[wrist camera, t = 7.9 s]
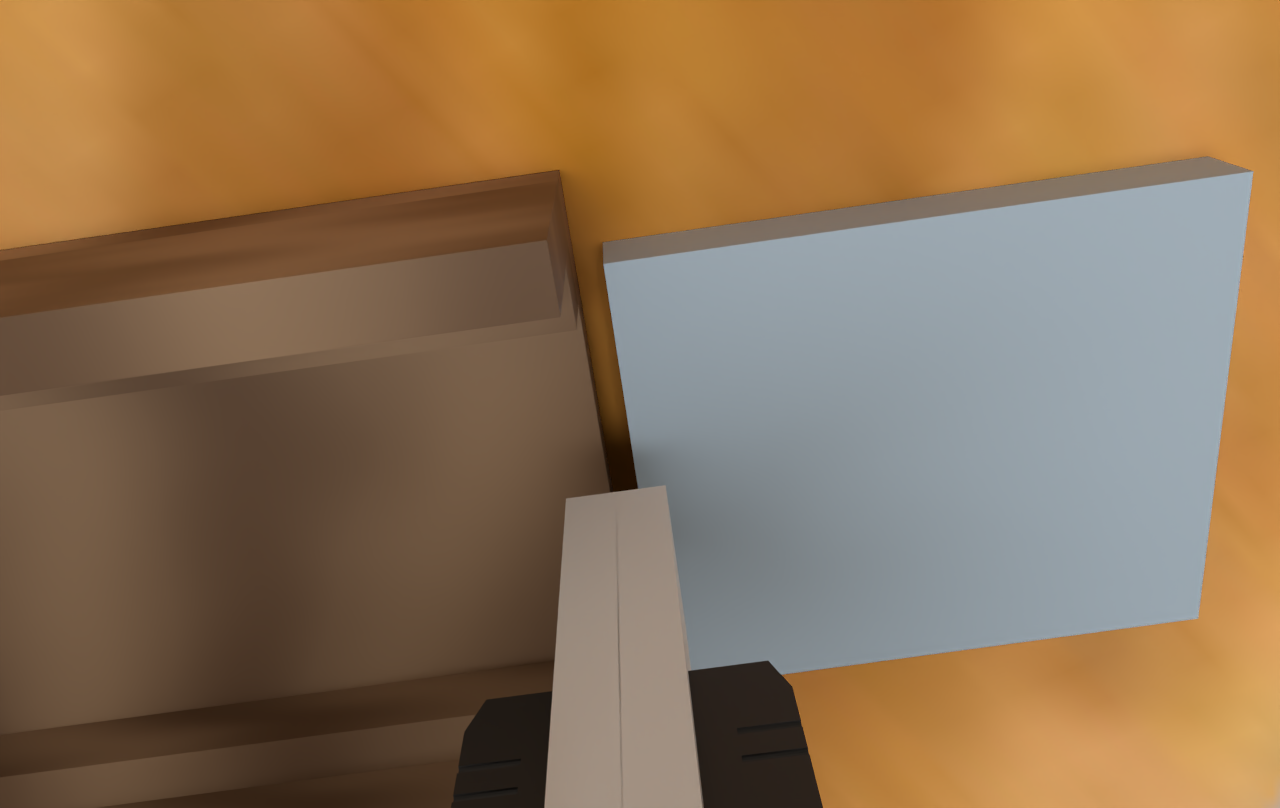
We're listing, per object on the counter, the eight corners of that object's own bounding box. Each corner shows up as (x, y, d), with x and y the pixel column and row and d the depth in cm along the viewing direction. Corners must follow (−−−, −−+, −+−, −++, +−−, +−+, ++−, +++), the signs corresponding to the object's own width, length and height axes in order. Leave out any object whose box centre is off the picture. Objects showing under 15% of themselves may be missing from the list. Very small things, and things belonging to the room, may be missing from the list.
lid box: (-15, 789, 21) (-154, 979, 17) (-291, 292, 16) (-568, 398, 12) (648, 702, 20) (659, 874, 17) (559, 170, 16) (546, 239, 12)
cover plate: (662, 625, 21) (669, 689, 19) (602, 231, 17) (602, 263, 15) (1144, 559, 20) (1197, 618, 19) (1182, 147, 17) (1252, 171, 15)
